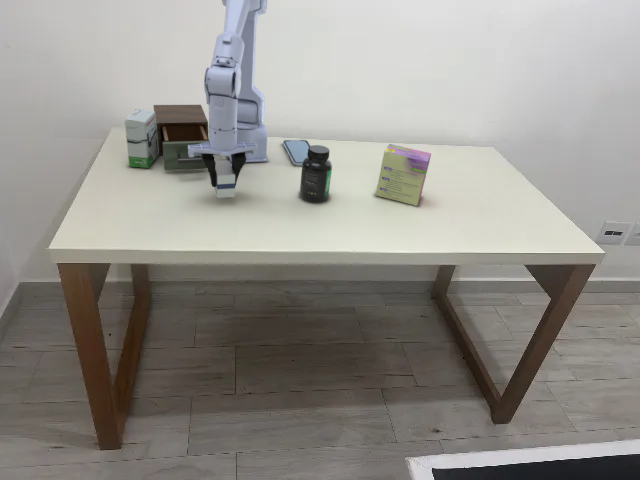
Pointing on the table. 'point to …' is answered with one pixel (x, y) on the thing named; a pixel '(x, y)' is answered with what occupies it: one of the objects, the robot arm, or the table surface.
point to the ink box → (141, 138)
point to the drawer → (182, 146)
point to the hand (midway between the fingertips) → (223, 184)
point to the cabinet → (178, 118)
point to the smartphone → (297, 150)
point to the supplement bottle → (316, 174)
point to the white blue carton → (224, 179)
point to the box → (403, 174)
